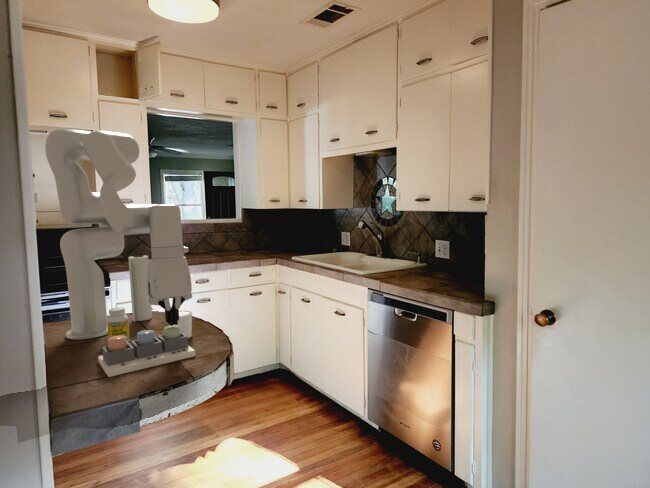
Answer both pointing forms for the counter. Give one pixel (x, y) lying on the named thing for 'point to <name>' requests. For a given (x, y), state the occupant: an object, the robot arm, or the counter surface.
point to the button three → (172, 332)
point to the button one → (117, 343)
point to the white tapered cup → (185, 322)
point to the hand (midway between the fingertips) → (172, 324)
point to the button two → (145, 337)
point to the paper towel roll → (139, 288)
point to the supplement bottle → (118, 323)
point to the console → (145, 355)
